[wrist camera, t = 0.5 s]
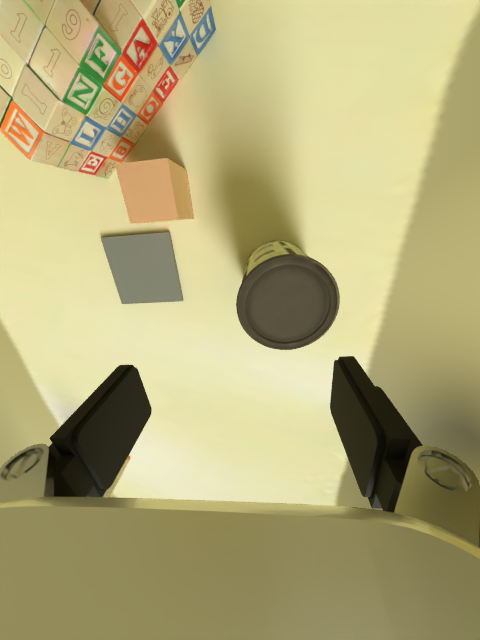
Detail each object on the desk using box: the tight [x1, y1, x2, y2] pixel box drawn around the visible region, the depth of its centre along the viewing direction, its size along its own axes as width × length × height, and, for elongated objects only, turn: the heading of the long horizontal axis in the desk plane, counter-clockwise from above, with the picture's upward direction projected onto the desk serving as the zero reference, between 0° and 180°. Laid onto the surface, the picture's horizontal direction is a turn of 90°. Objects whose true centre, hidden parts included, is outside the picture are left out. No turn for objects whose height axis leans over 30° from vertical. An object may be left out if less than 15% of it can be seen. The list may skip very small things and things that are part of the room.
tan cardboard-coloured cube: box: [115, 158, 194, 223], centre depth 28 cm, size 6×6×7 cm
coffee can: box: [236, 241, 340, 350], centre depth 29 cm, size 10×10×14 cm
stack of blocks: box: [0, 0, 216, 179], centre depth 21 cm, size 21×6×12 cm, turn 131°
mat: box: [101, 232, 183, 304], centre depth 36 cm, size 11×11×1 cm
